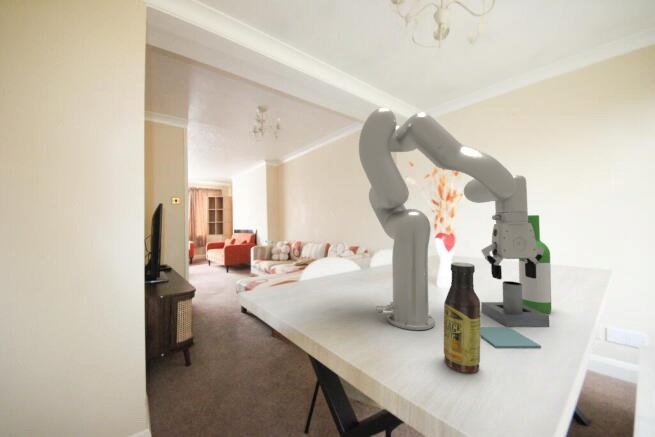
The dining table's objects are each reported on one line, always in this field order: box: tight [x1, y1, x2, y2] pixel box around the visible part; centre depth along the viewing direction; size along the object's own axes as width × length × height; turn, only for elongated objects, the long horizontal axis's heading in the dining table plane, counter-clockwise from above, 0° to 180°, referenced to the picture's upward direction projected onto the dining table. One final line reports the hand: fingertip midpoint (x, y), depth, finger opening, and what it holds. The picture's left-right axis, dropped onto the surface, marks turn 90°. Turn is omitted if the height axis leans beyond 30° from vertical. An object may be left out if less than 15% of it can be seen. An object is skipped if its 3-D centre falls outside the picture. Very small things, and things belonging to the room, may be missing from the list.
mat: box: [480, 326, 542, 349], centre depth 60 cm, size 10×10×1 cm
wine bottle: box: [518, 214, 552, 315], centre depth 79 cm, size 8×8×30 cm
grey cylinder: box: [502, 280, 523, 312], centre depth 72 cm, size 4×4×10 cm
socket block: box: [480, 301, 550, 328], centre depth 72 cm, size 11×11×3 cm
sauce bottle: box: [443, 261, 481, 374], centre depth 49 cm, size 7×6×20 cm
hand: (513, 277), depth 73 cm, fingers open, 9 cm apart
